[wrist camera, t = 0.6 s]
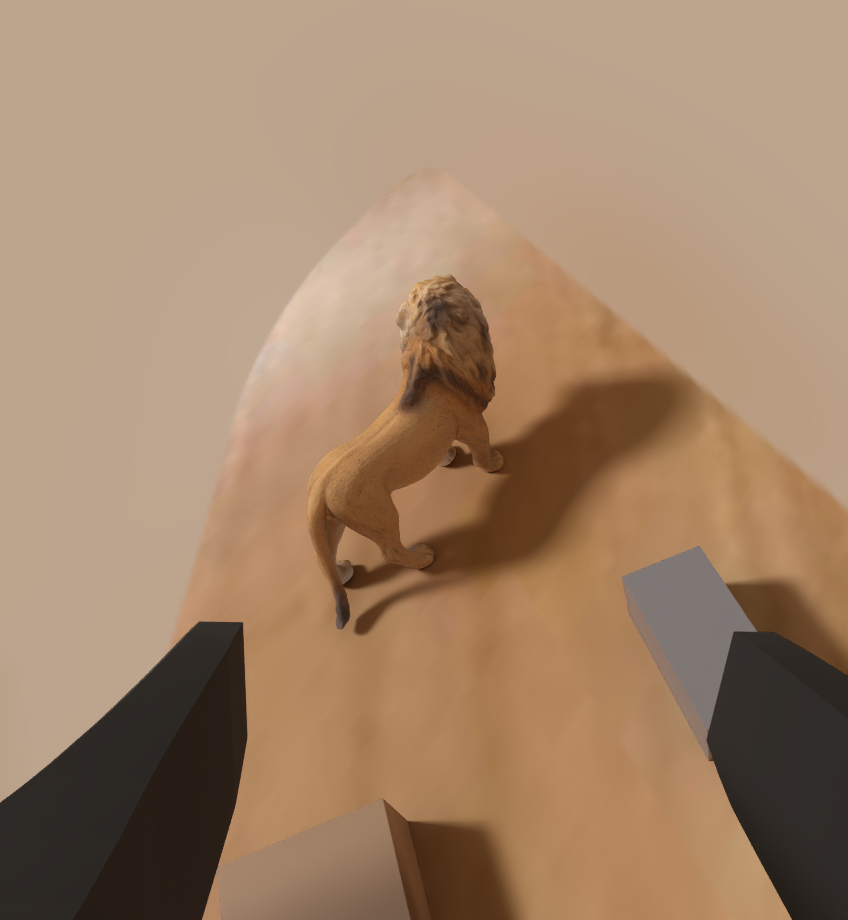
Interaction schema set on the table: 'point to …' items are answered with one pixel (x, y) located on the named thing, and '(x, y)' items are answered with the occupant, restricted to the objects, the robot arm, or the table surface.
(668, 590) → the gray brick
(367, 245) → the table surface
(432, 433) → the lion figurine
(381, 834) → the walnut block
